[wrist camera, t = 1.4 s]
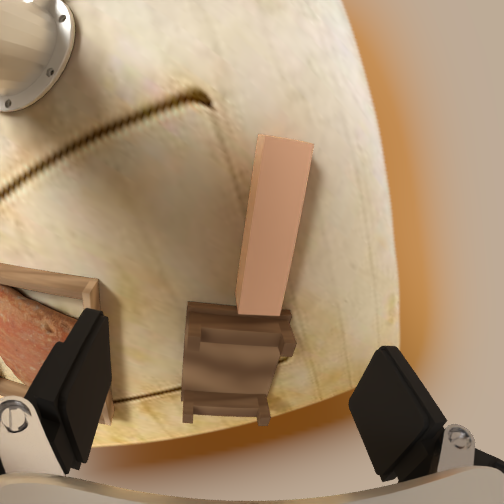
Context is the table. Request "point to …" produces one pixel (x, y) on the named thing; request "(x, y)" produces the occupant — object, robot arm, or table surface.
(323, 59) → the table surface
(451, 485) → the robot arm
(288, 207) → the tan pink long block
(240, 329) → the rack
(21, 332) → the ceramic shard
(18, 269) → the low wooden frame
